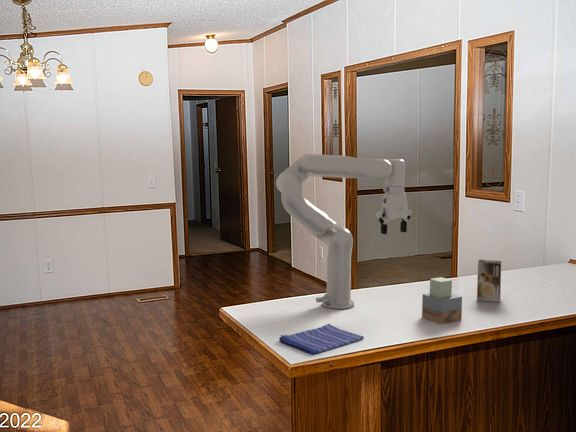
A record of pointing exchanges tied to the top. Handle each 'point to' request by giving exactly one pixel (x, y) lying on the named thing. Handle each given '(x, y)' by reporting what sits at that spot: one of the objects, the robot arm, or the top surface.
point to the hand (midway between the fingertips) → (393, 232)
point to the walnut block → (441, 315)
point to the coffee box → (489, 280)
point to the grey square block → (442, 303)
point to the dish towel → (320, 339)
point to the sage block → (440, 287)
